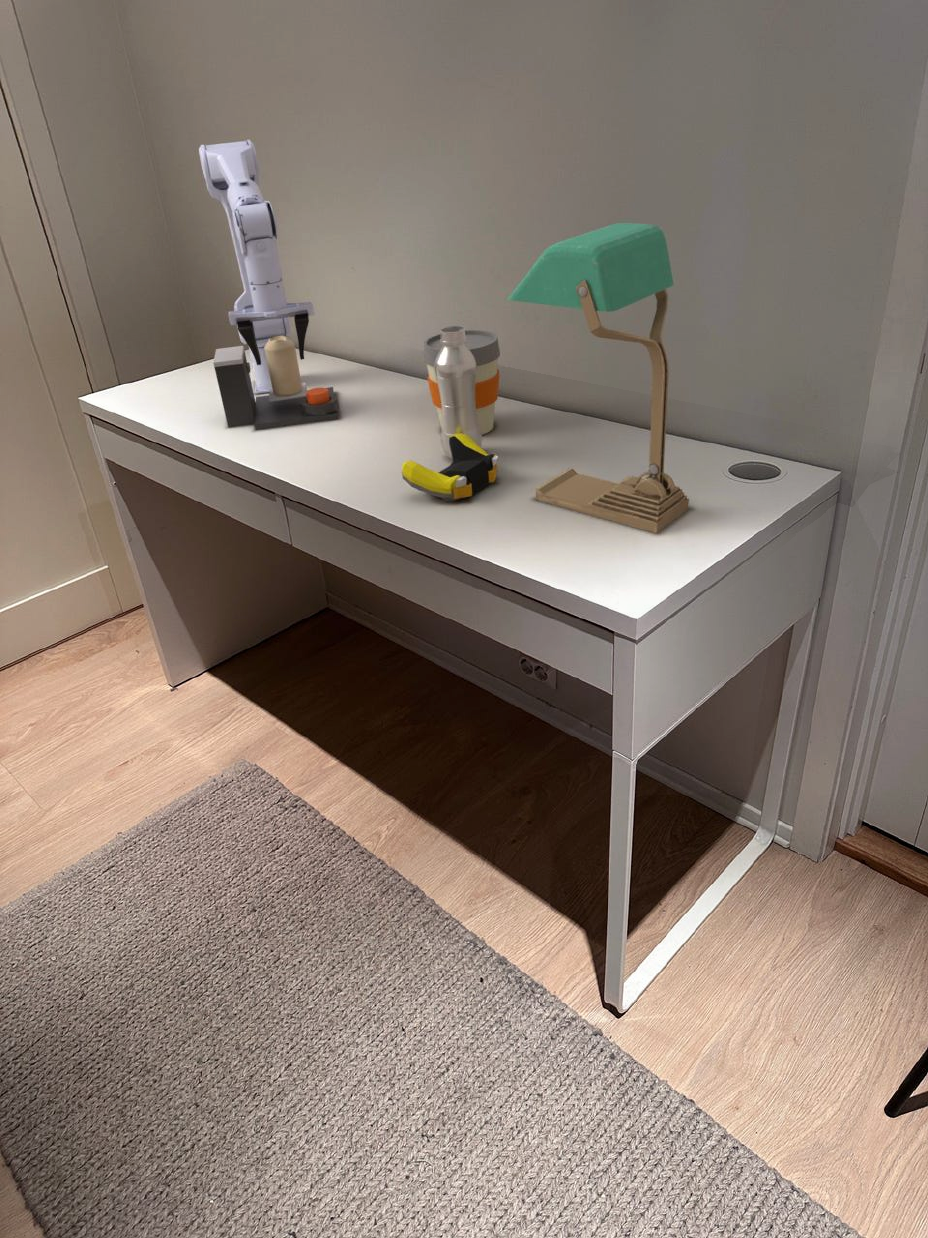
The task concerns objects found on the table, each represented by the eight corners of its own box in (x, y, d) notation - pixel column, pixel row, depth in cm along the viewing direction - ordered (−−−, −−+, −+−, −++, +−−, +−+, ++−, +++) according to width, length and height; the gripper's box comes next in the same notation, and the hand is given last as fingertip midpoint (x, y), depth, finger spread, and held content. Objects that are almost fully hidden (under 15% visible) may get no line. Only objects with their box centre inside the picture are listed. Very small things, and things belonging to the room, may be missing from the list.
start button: (307, 399, 162) (305, 388, 160) (329, 396, 162) (327, 386, 161) (308, 406, 158) (306, 395, 157) (330, 403, 159) (328, 392, 158)
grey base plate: (257, 402, 171) (253, 387, 169) (335, 392, 172) (333, 377, 171) (255, 430, 157) (252, 414, 156) (341, 419, 159) (338, 403, 157)
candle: (299, 394, 162) (290, 340, 157) (270, 396, 162) (259, 342, 157) (304, 385, 167) (295, 332, 161) (276, 387, 167) (266, 334, 162)
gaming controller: (398, 498, 128) (452, 512, 123) (394, 463, 125) (449, 476, 120) (459, 461, 138) (511, 473, 133) (456, 428, 135) (509, 438, 130)
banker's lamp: (641, 544, 111) (652, 251, 92) (512, 507, 123) (498, 240, 104) (701, 498, 121) (722, 224, 102) (575, 468, 133) (573, 217, 114)
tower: (230, 409, 168) (216, 346, 162) (308, 399, 170) (297, 336, 164) (228, 427, 160) (213, 362, 153) (310, 416, 161) (298, 351, 155)
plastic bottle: (491, 453, 140) (484, 326, 129) (463, 467, 136) (452, 337, 125) (462, 445, 144) (452, 320, 133) (433, 458, 140) (421, 331, 129)
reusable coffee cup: (518, 428, 148) (514, 339, 140) (455, 447, 143) (447, 356, 135) (478, 409, 158) (472, 325, 149) (418, 427, 152) (408, 340, 144)
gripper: (221, 291, 145) (239, 372, 152) (308, 280, 147) (322, 361, 154) (223, 282, 151) (240, 361, 158) (307, 272, 153) (320, 350, 160)
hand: (280, 360), depth 156 cm, fingers open, 7 cm apart
